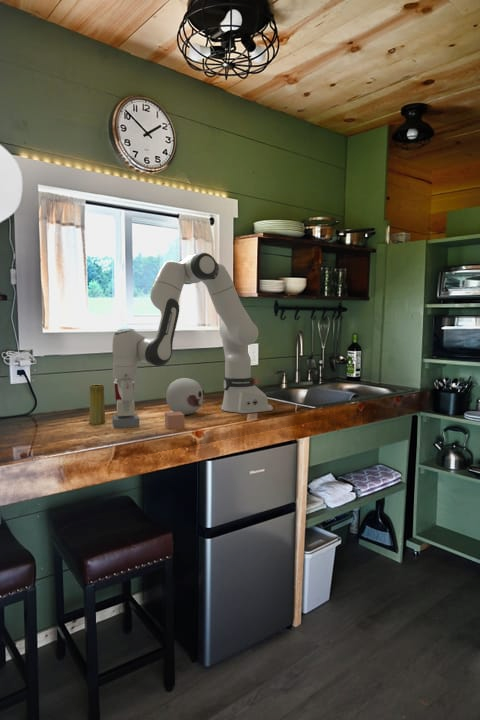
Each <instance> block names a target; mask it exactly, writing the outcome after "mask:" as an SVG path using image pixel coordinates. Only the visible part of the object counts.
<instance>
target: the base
mask: <svg viewBox="0 0 480 720" xmlns="http://www.w3.org/2000/svg"><path fill="white" fill-rule="evenodd" d="M111 415H112V416H111V417H112V424H113V428H114V429H117V428H118V429H119V428H134V427H138V428H139V427H140V417H139V416H138V414H137V413H136V412H135V415H131V416H118V415H117V414H111Z"/></svg>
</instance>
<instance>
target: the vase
mask: <svg viewBox="0 0 480 720" xmlns="http://www.w3.org/2000/svg"><path fill="white" fill-rule="evenodd" d="M104 392H105V385H104V384H101V383H100V384H99V383H98V384H97V383H96V384H91V385H89V414H88V415H89V420H88V423H89V424H90V425H100V424H105V423H106V422H107V421H106V409H105V408H106V407H105V393H104Z"/></svg>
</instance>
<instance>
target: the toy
mask: <svg viewBox="0 0 480 720" xmlns="http://www.w3.org/2000/svg"><path fill="white" fill-rule="evenodd" d="M165 394H166V395H165V400H166V404H167V406H168V408H169V409H170V410H171V412H182V413H183V414H184V416H188V415H192V414H194V413H195V412H197V411H199V409H200V408H201V406H202V405H203V403H204V395H205V391H204V389H203V388H202V386H201V385H200V383H199V382H197V381H196V379H192V378H187V377H181V378H177V379H175V380H174V381H172V382H171V383H170V384H169V386H168V387H167V389H166V393H165Z"/></svg>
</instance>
